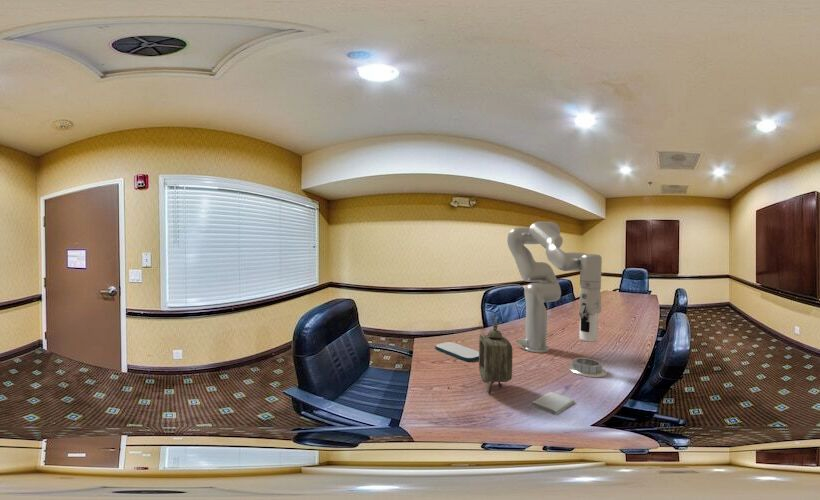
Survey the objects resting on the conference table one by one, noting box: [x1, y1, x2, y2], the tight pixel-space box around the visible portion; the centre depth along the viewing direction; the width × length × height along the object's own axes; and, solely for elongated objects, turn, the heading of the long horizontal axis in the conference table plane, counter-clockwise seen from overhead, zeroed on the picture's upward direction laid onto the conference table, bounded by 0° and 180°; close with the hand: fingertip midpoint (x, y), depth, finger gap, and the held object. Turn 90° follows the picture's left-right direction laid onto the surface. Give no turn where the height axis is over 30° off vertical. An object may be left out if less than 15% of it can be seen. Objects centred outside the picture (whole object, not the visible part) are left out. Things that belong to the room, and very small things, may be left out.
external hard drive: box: [434, 341, 479, 363], centre depth 168 cm, size 24×12×2 cm, turn 37°
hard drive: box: [530, 391, 575, 415], centre depth 119 cm, size 2×8×12 cm
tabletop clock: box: [478, 316, 513, 394], centre depth 130 cm, size 14×9×25 cm, turn 178°
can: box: [578, 312, 599, 343], centre depth 147 cm, size 6×6×12 cm
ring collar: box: [567, 357, 608, 379], centre depth 148 cm, size 14×14×4 cm
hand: (588, 329), depth 148 cm, fingers closed on can, 6 cm apart
